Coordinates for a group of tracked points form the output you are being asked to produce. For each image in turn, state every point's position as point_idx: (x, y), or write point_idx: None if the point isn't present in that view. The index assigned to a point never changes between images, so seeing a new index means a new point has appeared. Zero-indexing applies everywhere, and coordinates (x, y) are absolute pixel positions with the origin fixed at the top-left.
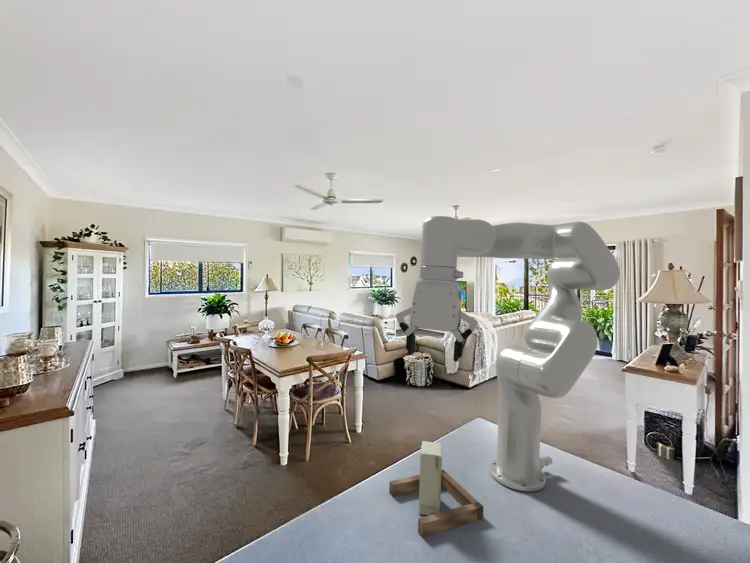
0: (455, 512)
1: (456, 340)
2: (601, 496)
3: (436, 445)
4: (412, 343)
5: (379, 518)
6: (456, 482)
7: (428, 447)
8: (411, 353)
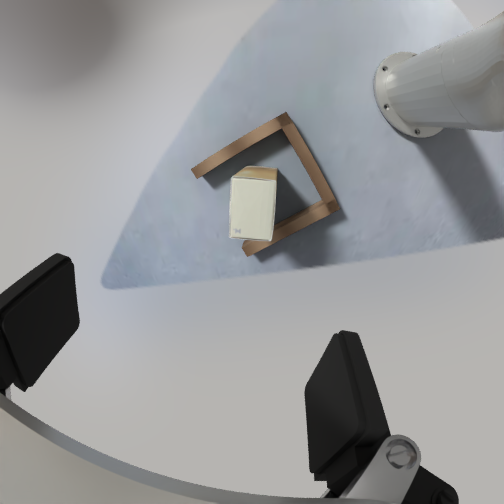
0: (295, 228)
1: (329, 475)
2: (494, 146)
3: (263, 194)
4: (45, 349)
5: (192, 224)
6: (307, 151)
7: (245, 210)
8: (76, 322)
